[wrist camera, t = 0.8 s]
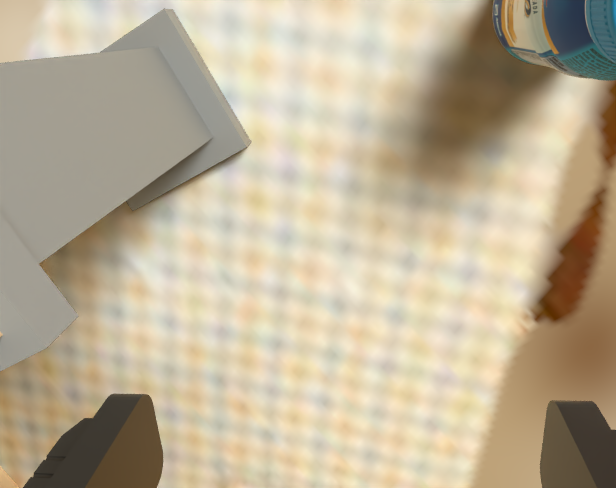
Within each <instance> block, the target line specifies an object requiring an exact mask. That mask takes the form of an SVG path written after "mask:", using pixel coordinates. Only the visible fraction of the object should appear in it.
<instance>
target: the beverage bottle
mask: <svg viewBox="0 0 616 488" xmlns="http://www.w3.org/2000/svg"><path fill="white" fill-rule="evenodd" d="M492 16H493V25H494V29H495V32H496V35H497V37H498V39H499V41H500V43H501V44H502V46H503V47H504V48H505V49H506V50H507V51H508V52H509V53H510V54H511V55H512V56H514V57H515V58H517V59H519V60H521V61H524V62H527V63H530V64H535V65H542V66H547V67H551V68H554V69H555V70H557V71H559V72H561V73H564V74H567V75H570V76H574V77H579V78H593V79H598V80H616V0H494V2H493V12H492Z"/></svg>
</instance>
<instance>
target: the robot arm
mask: <svg viewBox="0 0 616 488" xmlns="http://www.w3.org/2000/svg"><path fill="white" fill-rule="evenodd" d="M162 467H163V451H162V445H161V441H160V436H159V431H158V426H157V421H156V416H155V412H154V407H153V402H152V399H151V398H150V396H149V395H147V394H112V395H110V396H109V397H108V398H107V399H106V401H105V402H104V403H103V405H102V406H101V408H100V409H99V410H98V412H97V413H96V415H95V416H94V418H93V419H92V418H84V419H83V420H82V421H80V422H79V423H78V424H77V425H75V426H74V427H73V428H71V429H70V430H69V431H67V432H66V433H65V434H63V435H62V436H61V438H60V439H59V440H58V442H57V443H56V444H55V446H54V447H53V448H52V450H51V451H50V452H49V454H48V455H47V459H46V460H43V462H42V463H41V464H40V466H39V467H38V468H37V470H36V471H35V472H34V477H31V478H30V479H29V480H28V482H27V483H26V484H25V486H24V487H23V488H157V486H158V483H159V480H160V477H161V473H162ZM540 474H541V483H542V488H616V430H611V429H610V427H609V426H608V424H607V422H606V420H605V418H604V417H603V415H602V414H601V412H600V410H599V408H598V407H597V405H596V404H595V403H594V402H592V401H550V402H549V404H548V407H547V413H546V421H545V428H544V436H543V444H542V452H541V461H540Z"/></svg>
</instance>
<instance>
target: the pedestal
mask: <svg viewBox="0 0 616 488" xmlns="http://www.w3.org/2000/svg"><path fill="white" fill-rule="evenodd" d="M250 143H251V141H250V139H249V137H248V136H247V134H246V132H245V131H244V129H243V127H242V125H241V124H240V122H239V120H238V119H237V117H236V115H235V114H234V112H233V110H232V109H231V107H230V105H229V103H228V102H227V100H226V98H225V97H224V95H223V93H222V92H221V90H220V88H219V87H218V85H217V83H216V81H215V80H214V78H213V76H212V75H211V73H210V71H209V70H208V68H207V66H206V65H205V63H204V61H203V59H202V58H201V56H200V54H199V53H198V51H197V49H196V48H195V46H194V44H193V43H192V41H191V39H190V38H189V36H188V34H187V32H186V31H185V29H184V27H183V26H182V24H181V22H180V21H179V19H178V17H177V16H176V14H175V12H174V10H173V9H163V10H162V11H160V12H159V13H157V14H156V15H154V16H153V17H151V18H150V19H148V20H147V21H145V22H144V23H142V24H141V25H140V26H138V27H137V28H135V29H134V30H132V31H131V32H129V33H128V34H126V35H125V36H123V37H122V38H120V39H119V40H117V41H116V42H114V43H113V44H112V45H110V46H109V47H107V48H106V49H104V50H103V51H101V52H100V53H93V54H83V55H74V56H64V57H54V58H44V59H34V60H25V61H15V62H5V63H0V332H1V333H2V334H3V335H2V336H1V337H0V371H2V370H4V369H6V368H8V367H10V366H12V365H14V364H16V363H18V362H20V361H22V360H24V359H26V358H28V357H30V356H32V355H34V354H36V353H38V352H40V351H42V350H44V349H46V348H47V347H48V346H49V345H50V344H51V343H52V342H53V341H54V340H55V339H56V338H57V337H58V336H59V335H60V334H61V333H62V332H63V331H64V330H65V329H66V328H67V327H68V326H69V325H70V324H71V323H72V322H73V321H74V320H75V319H76V318H77V317H78V314H77V313H76V312H75V310H74V309H73V308H72V306H71V305H70V304H69V303H68V301H67V300H66V299H65V297H64V296H63V295H62V294H61V292H60V291H59V290H58V288H57V287H56V286H55V284H54V283H53V282H52V281H51V279H50V278H49V277H48V275H47V274H46V273H45V271H44V270H43V269H42V268H41V266H40V265H39V264H40V263H41V262H42V261H44V260H45V259H46V258H48V257H49V256H51V255H52V254H53V253H55V252H56V251H57V250H59V249H60V248H62V247H63V246H64V245H66V244H67V243H68V242H70V241H71V240H73V239H74V238H75V237H77V236H78V235H79V234H81V233H82V232H84V231H85V230H86V229H88V228H89V227H91V226H92V225H93V224H95V223H96V222H97V221H99V220H100V219H102V218H103V217H104V216H106V215H107V214H108V213H110V212H111V211H113V210H114V209H115V208H117V207H118V206H119V205H121V204H122V203H124V202H125V201H126V202H127V204H128V205H129V206H130V208H131V209H132V211H134V210H136V209H138V208H139V207H141V206H143V205H145V204H147V203H148V202H150V201H152V200H154V199H155V198H157V197H159V196H161V195H163V194H164V193H166V192H168V191H170V190H171V189H173V188H175V187H177V186H178V185H180V184H182V183H184V182H186V181H187V180H189V179H191V178H193V177H194V176H196V175H198V174H200V173H202V172H203V171H205V170H207V169H209V168H210V167H212V166H214V165H216V164H217V163H219V162H221V161H223V160H225V159H226V158H228V157H230V156H232V155H233V154H235V153H237V152H239V151H241V150H242V149H244V148H246V147H247V146H248V145H249V144H250Z"/></svg>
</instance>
